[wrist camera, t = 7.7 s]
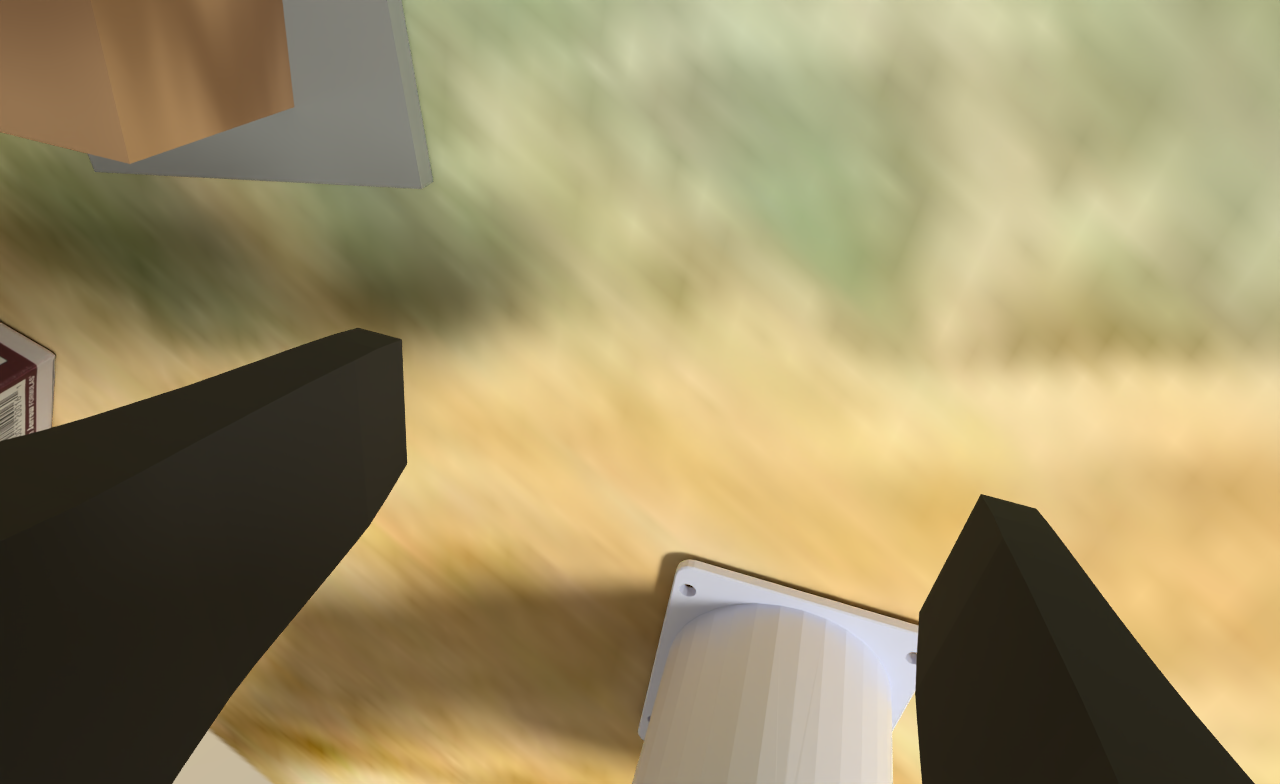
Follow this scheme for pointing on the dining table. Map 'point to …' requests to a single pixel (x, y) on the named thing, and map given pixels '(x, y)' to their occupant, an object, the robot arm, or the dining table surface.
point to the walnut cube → (139, 71)
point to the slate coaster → (323, 109)
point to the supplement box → (24, 385)
